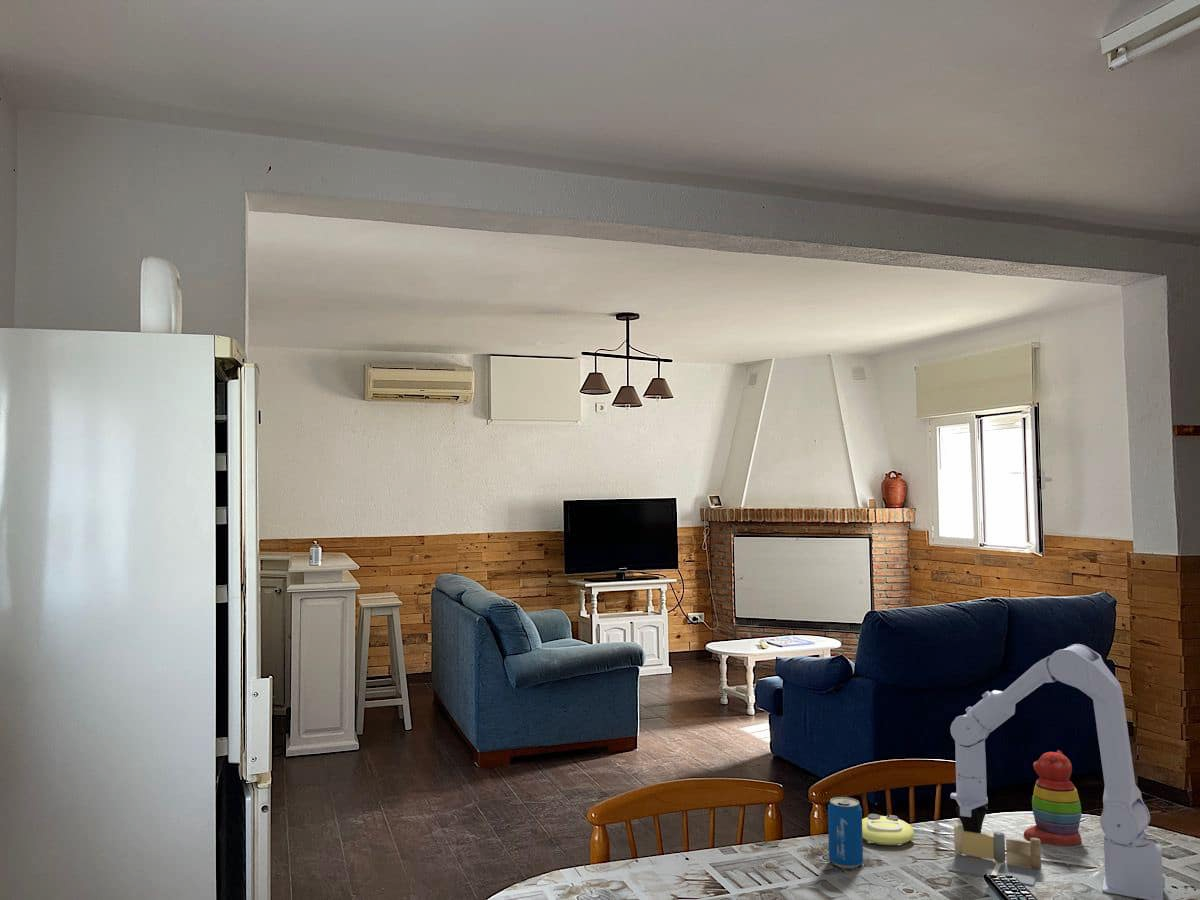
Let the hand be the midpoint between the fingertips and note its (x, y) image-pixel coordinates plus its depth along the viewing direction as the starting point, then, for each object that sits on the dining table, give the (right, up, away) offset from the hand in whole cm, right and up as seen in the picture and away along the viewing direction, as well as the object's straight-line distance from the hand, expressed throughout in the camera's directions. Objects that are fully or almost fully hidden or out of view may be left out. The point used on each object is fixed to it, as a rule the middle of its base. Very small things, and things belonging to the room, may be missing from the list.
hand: (972, 843), depth 192 cm
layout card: (+1, -1, -8) cm, 8 cm away
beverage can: (-27, -2, -5) cm, 28 cm away
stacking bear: (+21, -3, +8) cm, 22 cm away
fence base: (+7, -1, -8) cm, 11 cm away
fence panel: (0, -1, -4) cm, 4 cm away
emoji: (-15, -3, +8) cm, 18 cm away
